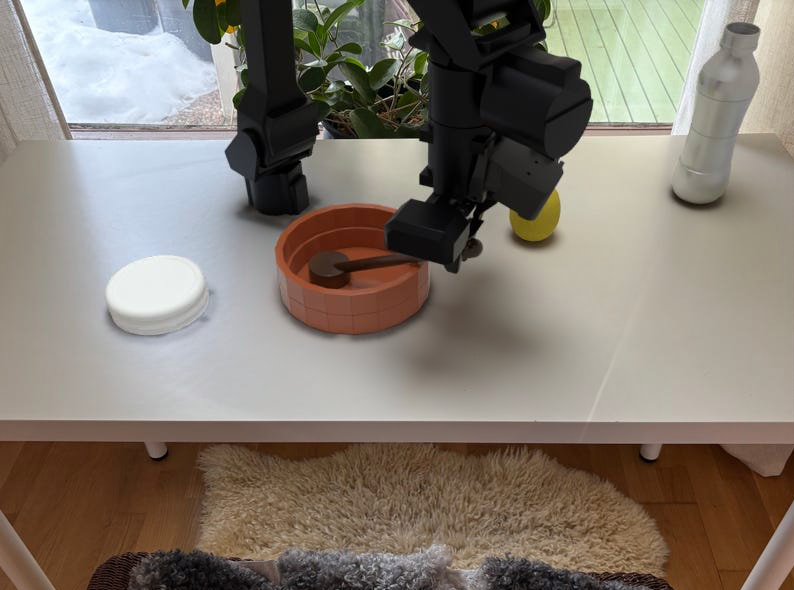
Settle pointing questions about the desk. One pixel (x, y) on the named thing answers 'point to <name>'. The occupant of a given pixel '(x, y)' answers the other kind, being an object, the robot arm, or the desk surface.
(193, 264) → the white round lid
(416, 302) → the bowl
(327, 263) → the brown utensil
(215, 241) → the desk surface
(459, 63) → the robot arm
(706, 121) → the plastic bottle
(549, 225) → the lemon
